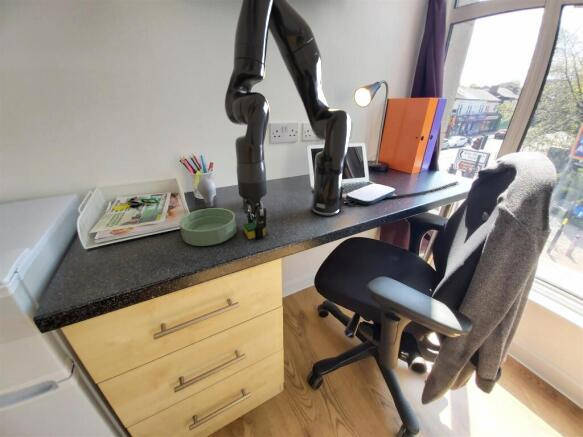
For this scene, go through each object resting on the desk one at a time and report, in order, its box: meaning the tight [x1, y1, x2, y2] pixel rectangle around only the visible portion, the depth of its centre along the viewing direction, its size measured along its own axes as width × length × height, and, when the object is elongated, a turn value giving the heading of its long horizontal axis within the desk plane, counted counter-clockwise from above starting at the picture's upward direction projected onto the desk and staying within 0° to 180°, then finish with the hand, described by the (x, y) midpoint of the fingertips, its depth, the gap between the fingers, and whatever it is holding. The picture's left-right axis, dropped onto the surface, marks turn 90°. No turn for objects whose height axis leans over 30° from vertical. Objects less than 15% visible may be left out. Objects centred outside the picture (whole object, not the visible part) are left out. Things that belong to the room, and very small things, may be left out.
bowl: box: [178, 207, 238, 247], centre depth 69 cm, size 15×15×5 cm
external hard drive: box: [345, 183, 396, 206], centre depth 98 cm, size 24×12×2 cm, turn 132°
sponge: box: [243, 222, 266, 240], centre depth 69 cm, size 5×4×3 cm
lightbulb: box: [196, 178, 217, 209], centre depth 84 cm, size 6×6×11 cm
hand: (255, 233), depth 69 cm, fingers open, 5 cm apart
